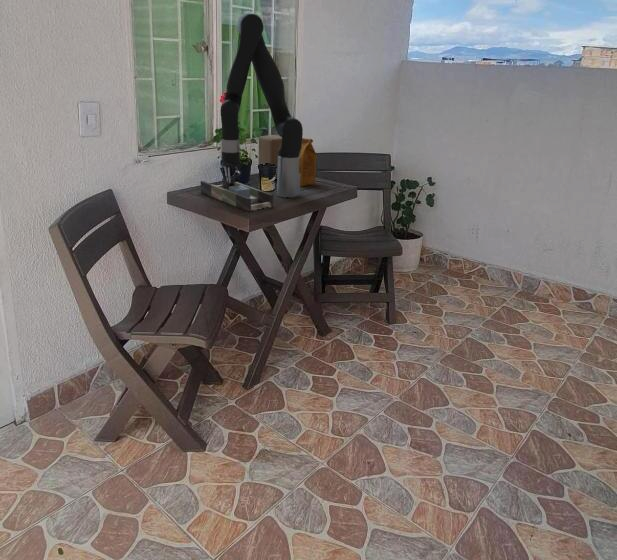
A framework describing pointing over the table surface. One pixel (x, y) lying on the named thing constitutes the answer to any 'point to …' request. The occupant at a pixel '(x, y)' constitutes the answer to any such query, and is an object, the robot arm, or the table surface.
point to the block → (269, 149)
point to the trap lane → (238, 196)
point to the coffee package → (307, 163)
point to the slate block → (240, 190)
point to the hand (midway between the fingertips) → (231, 191)
